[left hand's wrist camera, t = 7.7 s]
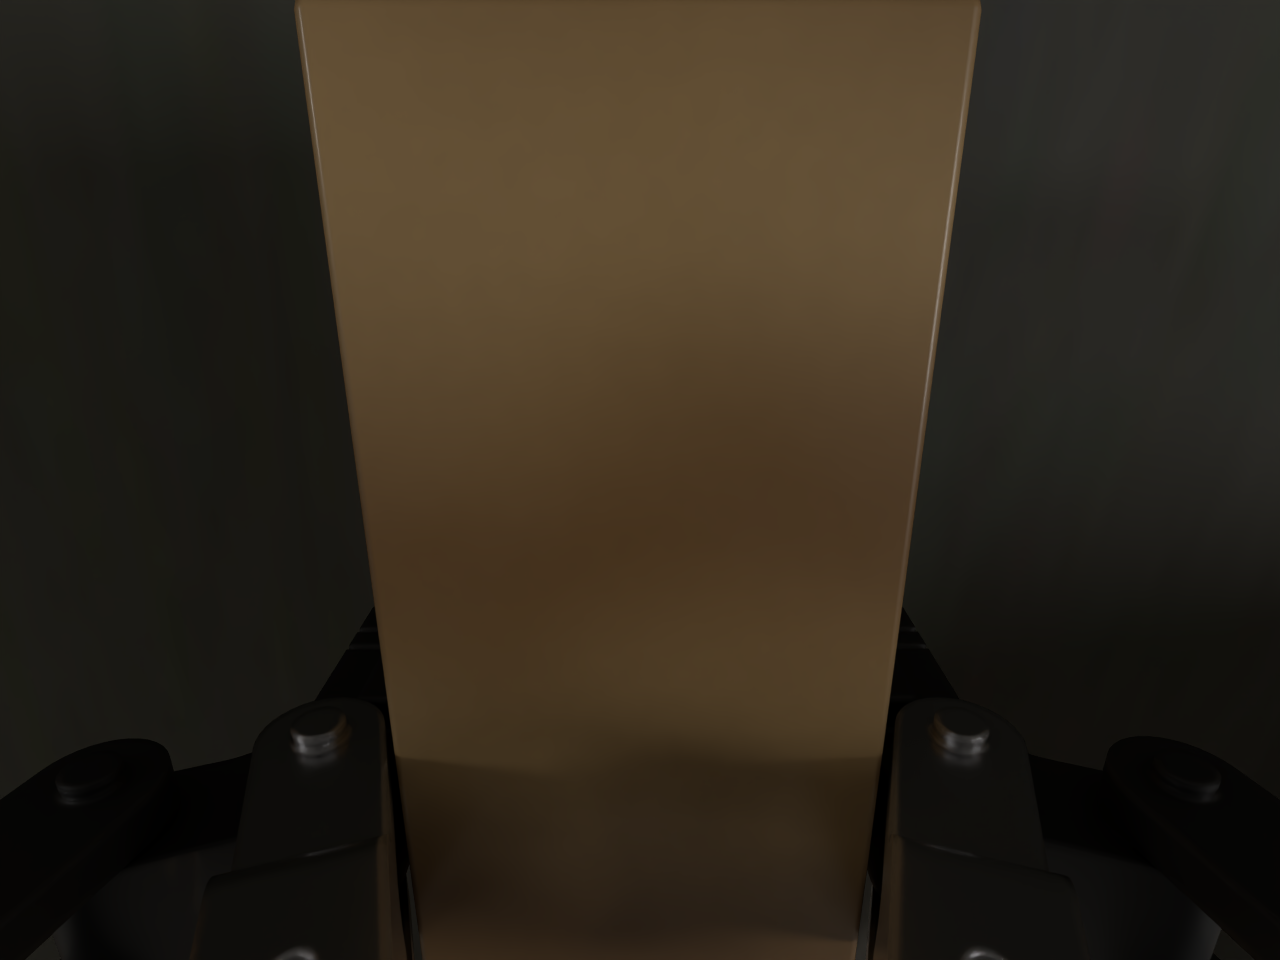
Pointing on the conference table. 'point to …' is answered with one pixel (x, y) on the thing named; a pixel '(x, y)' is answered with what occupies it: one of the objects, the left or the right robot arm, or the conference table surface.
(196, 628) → the conference table surface
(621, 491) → the post
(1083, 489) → the conference table surface
